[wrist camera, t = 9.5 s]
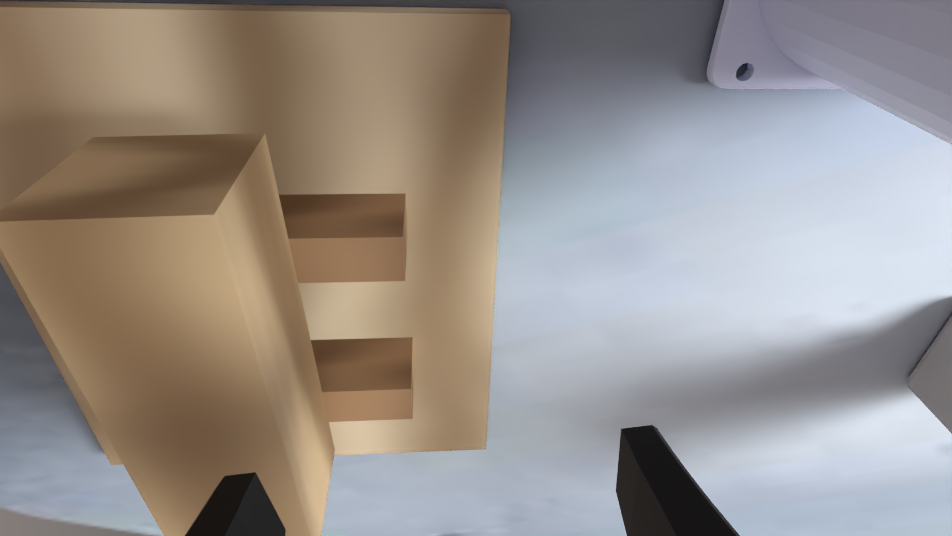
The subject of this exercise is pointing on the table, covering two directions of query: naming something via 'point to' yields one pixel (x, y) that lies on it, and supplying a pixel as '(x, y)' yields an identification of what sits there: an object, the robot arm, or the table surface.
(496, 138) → the rail stand
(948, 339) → the vintage mobile phone
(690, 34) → the table surface
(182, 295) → the oak beam
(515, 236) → the table surface
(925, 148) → the table surface
